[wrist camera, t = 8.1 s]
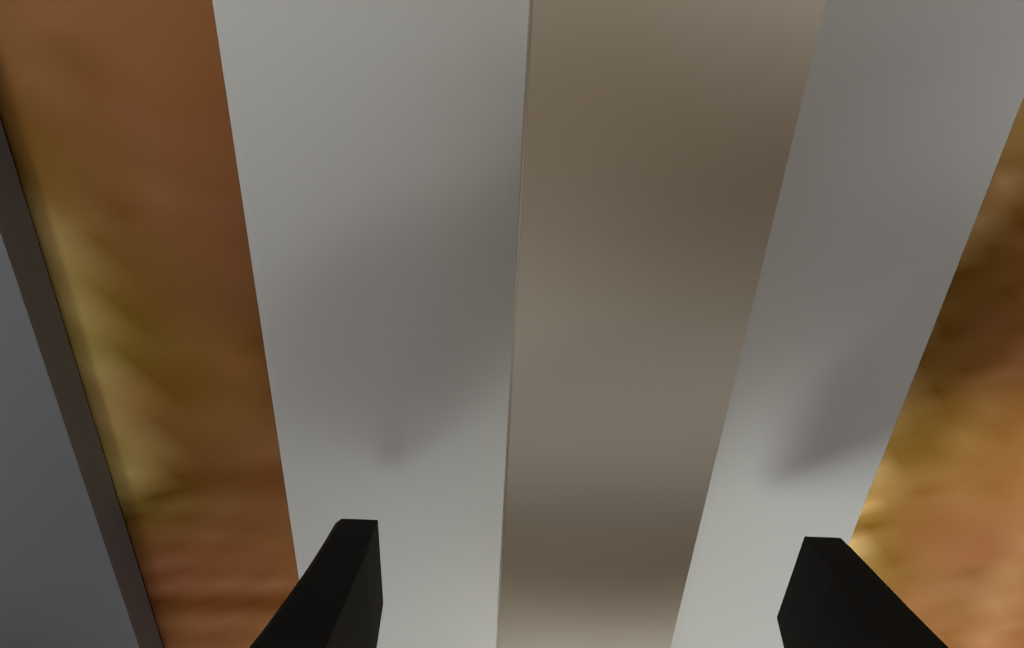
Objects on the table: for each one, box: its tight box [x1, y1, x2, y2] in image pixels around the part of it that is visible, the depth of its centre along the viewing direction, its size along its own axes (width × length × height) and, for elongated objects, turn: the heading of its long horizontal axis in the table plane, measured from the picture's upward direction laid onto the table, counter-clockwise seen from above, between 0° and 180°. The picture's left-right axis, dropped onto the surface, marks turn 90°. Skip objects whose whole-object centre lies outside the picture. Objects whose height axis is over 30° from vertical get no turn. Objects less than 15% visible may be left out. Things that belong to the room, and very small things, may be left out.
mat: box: [212, 0, 1024, 648], centre depth 14 cm, size 28×12×1 cm, turn 177°
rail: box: [496, 0, 826, 648], centre depth 13 cm, size 23×3×3 cm, turn 177°
